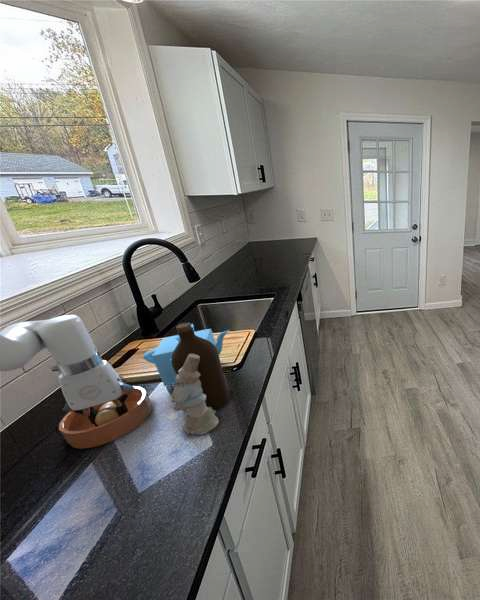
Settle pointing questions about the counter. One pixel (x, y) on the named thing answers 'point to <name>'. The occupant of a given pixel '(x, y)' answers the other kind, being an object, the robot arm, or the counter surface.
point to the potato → (106, 414)
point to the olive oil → (202, 365)
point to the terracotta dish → (87, 435)
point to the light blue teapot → (166, 349)
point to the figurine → (193, 399)
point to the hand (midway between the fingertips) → (111, 419)
